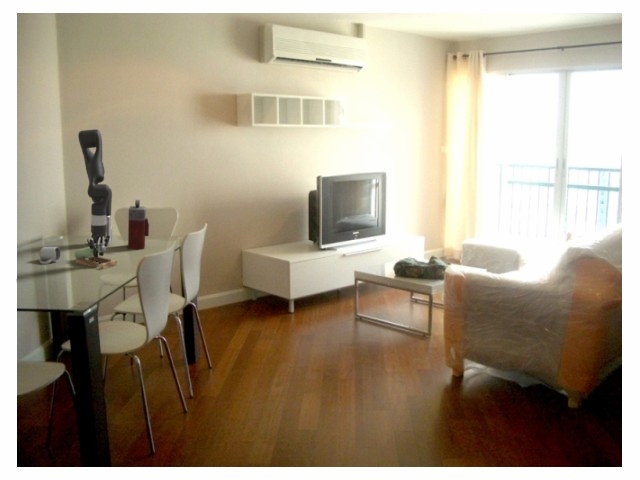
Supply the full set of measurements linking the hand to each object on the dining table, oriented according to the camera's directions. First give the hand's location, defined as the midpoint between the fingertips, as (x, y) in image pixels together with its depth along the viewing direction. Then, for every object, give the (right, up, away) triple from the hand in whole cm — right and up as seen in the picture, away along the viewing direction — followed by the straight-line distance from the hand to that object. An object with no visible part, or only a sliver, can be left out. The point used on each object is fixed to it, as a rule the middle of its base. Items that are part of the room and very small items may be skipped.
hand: (98, 256), depth 309 cm
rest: (-2, -4, +1) cm, 5 cm away
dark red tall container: (+8, +4, +43) cm, 44 cm away
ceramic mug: (-25, -3, -1) cm, 25 cm away
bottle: (-12, 0, +6) cm, 14 cm away
